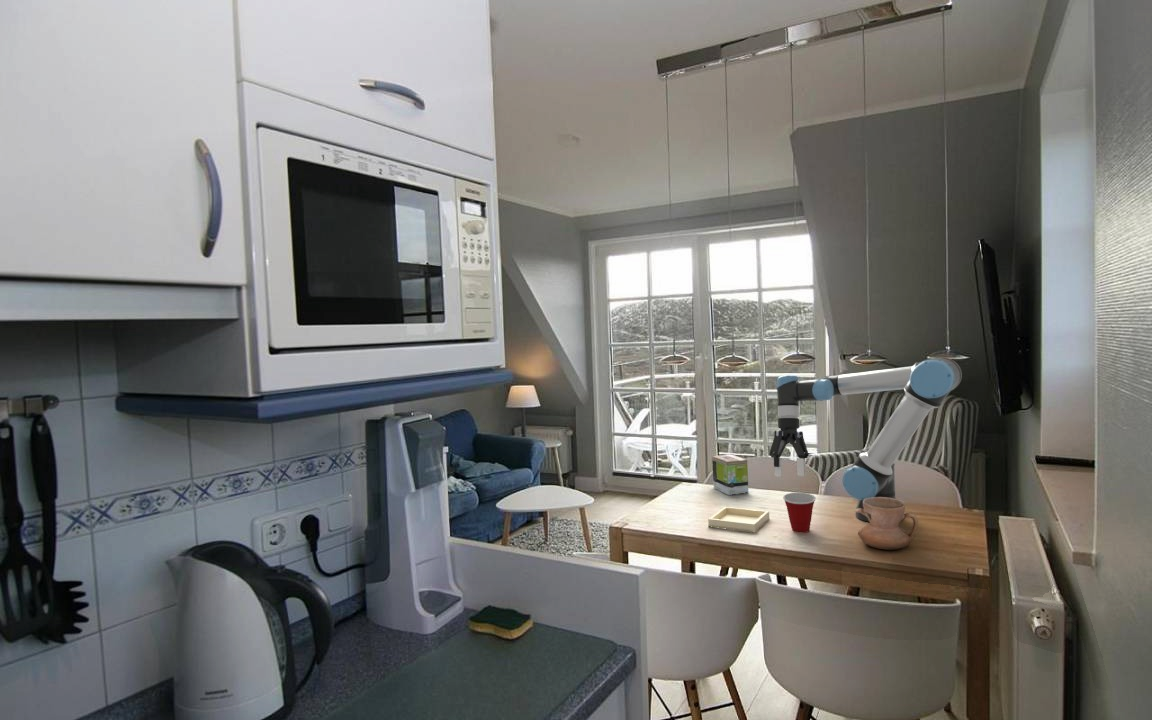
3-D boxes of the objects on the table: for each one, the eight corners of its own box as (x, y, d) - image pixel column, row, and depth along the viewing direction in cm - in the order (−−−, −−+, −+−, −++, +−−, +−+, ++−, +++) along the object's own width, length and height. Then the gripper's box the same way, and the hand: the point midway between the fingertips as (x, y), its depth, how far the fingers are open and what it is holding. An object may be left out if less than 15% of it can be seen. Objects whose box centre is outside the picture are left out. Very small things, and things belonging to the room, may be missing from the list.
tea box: (749, 493, 275) (747, 459, 275) (728, 496, 273) (726, 461, 272) (733, 485, 290) (731, 453, 289) (712, 488, 288) (711, 455, 287)
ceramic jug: (853, 549, 201) (852, 505, 201) (858, 535, 214) (857, 493, 213) (917, 558, 193) (917, 511, 192) (919, 542, 205) (918, 498, 204)
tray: (769, 519, 237) (769, 511, 237) (754, 532, 223) (754, 524, 223) (725, 514, 247) (725, 506, 247) (708, 527, 233) (708, 518, 233)
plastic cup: (785, 535, 219) (784, 500, 218) (783, 525, 229) (781, 492, 229) (819, 535, 216) (817, 500, 216) (815, 525, 227) (813, 492, 226)
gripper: (799, 419, 246) (801, 475, 243) (758, 416, 231) (759, 476, 228) (817, 419, 240) (819, 476, 237) (775, 415, 225) (777, 477, 222)
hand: (790, 476), depth 233 cm, fingers open, 13 cm apart
